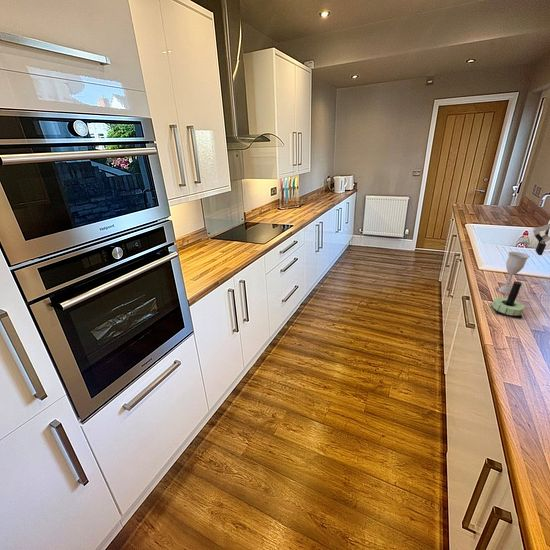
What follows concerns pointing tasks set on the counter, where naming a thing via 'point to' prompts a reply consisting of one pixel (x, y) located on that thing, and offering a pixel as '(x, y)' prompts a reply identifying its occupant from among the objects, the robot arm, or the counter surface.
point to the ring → (501, 307)
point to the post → (512, 298)
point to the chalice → (513, 268)
